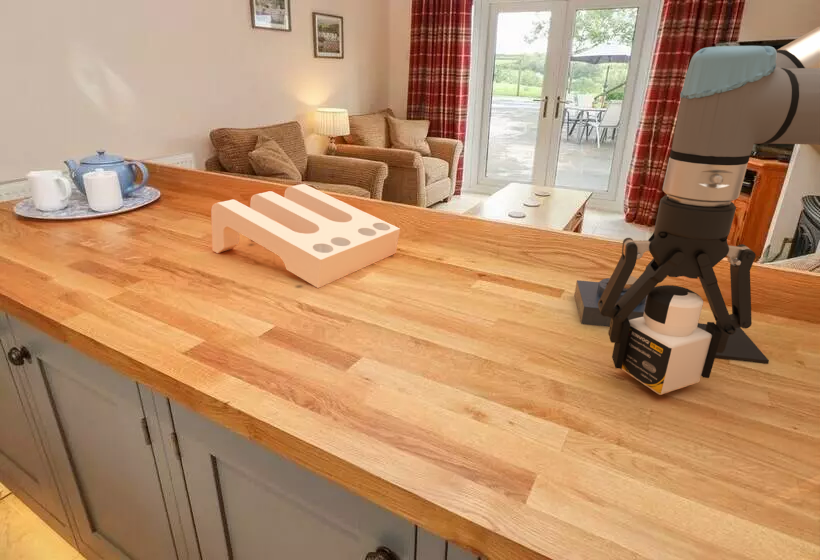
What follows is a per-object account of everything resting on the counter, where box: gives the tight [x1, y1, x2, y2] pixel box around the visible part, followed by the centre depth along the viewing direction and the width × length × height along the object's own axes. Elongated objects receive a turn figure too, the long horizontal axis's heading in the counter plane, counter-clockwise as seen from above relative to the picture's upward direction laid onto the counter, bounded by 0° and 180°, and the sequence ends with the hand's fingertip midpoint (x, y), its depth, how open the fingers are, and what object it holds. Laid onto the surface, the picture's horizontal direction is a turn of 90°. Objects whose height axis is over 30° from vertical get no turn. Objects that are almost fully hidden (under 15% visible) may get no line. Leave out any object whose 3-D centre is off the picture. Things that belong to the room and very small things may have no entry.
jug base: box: [574, 277, 648, 328], centre depth 82 cm, size 13×11×5 cm
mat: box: [697, 322, 770, 365], centre depth 74 cm, size 10×10×1 cm
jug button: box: [609, 274, 638, 292], centre depth 81 cm, size 4×4×2 cm
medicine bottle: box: [621, 284, 712, 396], centre depth 62 cm, size 7×7×12 cm
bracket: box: [210, 183, 401, 289], centre depth 107 cm, size 24×12×32 cm
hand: (658, 367), depth 64 cm, fingers closed on medicine bottle, 10 cm apart
